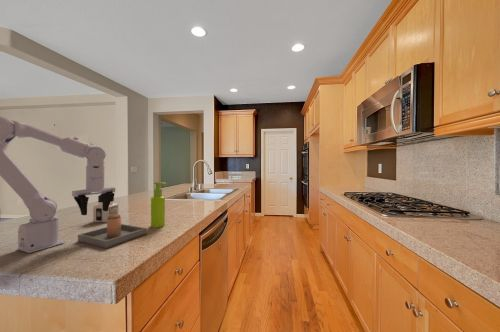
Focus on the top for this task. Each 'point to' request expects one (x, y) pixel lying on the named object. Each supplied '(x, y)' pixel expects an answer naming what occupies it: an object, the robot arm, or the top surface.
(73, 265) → the top surface
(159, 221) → the soap dispenser
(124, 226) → the tray
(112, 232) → the spice jar
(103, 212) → the container
